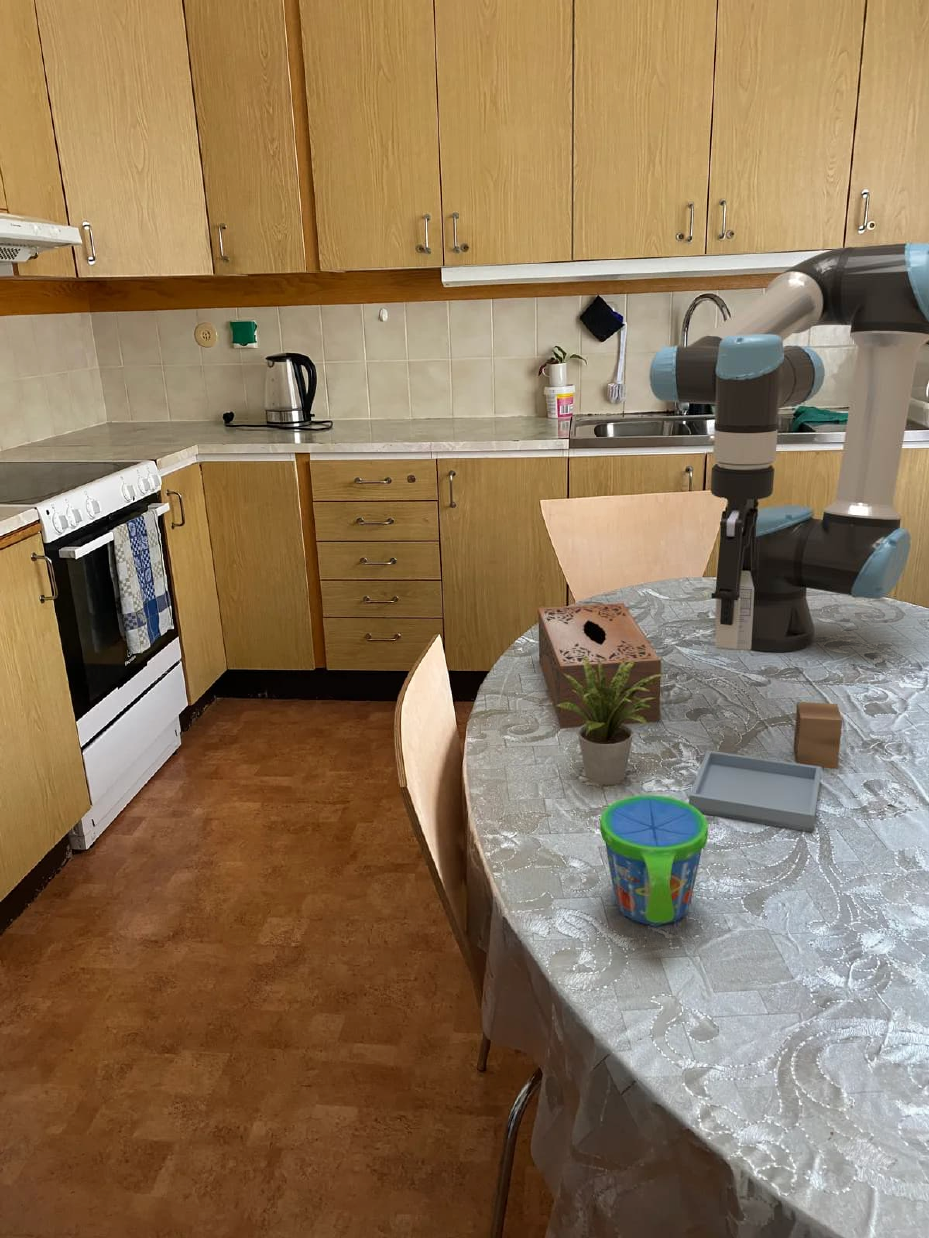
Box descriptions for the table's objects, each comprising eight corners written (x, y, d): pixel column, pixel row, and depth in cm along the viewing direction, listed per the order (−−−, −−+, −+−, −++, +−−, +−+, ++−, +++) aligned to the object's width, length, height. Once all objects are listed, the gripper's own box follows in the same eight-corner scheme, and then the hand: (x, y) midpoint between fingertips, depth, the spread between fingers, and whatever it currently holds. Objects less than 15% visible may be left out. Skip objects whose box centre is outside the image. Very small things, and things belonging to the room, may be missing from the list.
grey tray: (706, 765, 124) (707, 750, 124) (820, 782, 119) (821, 766, 118) (688, 811, 114) (689, 795, 113) (812, 832, 108) (814, 815, 108)
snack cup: (605, 858, 105) (605, 778, 102) (702, 866, 103) (705, 784, 100) (594, 950, 91) (594, 860, 88) (706, 961, 89) (710, 870, 85)
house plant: (651, 816, 113) (654, 692, 108) (541, 799, 118) (538, 680, 112) (669, 761, 126) (673, 647, 120) (569, 748, 130) (567, 639, 125)
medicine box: (751, 651, 120) (755, 587, 118) (715, 650, 121) (718, 586, 119) (747, 631, 128) (751, 570, 125) (713, 630, 129) (717, 569, 126)
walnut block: (793, 748, 128) (797, 701, 125) (832, 751, 126) (837, 703, 124) (796, 766, 123) (800, 717, 121) (837, 769, 122) (842, 720, 120)
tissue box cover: (539, 663, 161) (538, 608, 158) (622, 657, 161) (623, 602, 158) (561, 729, 137) (560, 666, 133) (659, 723, 137) (661, 660, 134)
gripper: (727, 450, 128) (718, 608, 135) (694, 477, 109) (686, 658, 117) (785, 452, 125) (772, 613, 132) (761, 480, 106) (748, 666, 114)
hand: (732, 634), depth 124 cm, fingers closed on medicine box, 8 cm apart
